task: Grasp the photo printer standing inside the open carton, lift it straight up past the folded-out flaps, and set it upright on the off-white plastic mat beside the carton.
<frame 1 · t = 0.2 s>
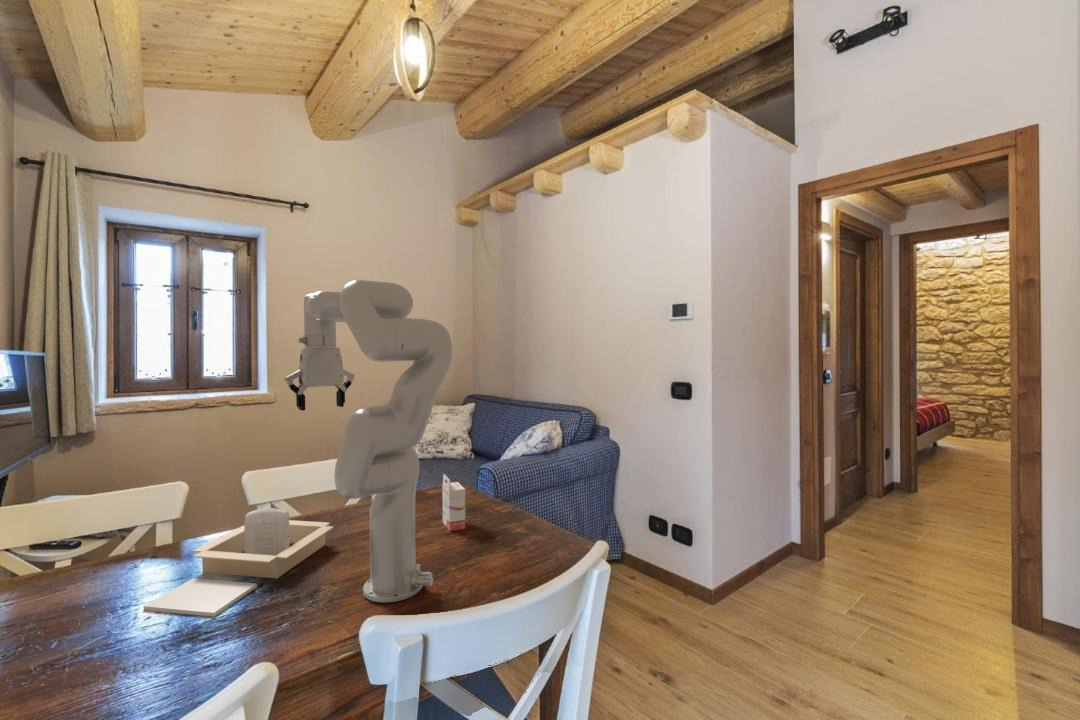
hand: (321, 408, 132), 37 cm above the table, tool pointing down, fingers open, 9 cm apart
ink cartridge box: (454, 526, 148), on the table
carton: (267, 557, 127), on the table
photo printer: (267, 558, 127), resting in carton
mat: (202, 598, 107), on the table
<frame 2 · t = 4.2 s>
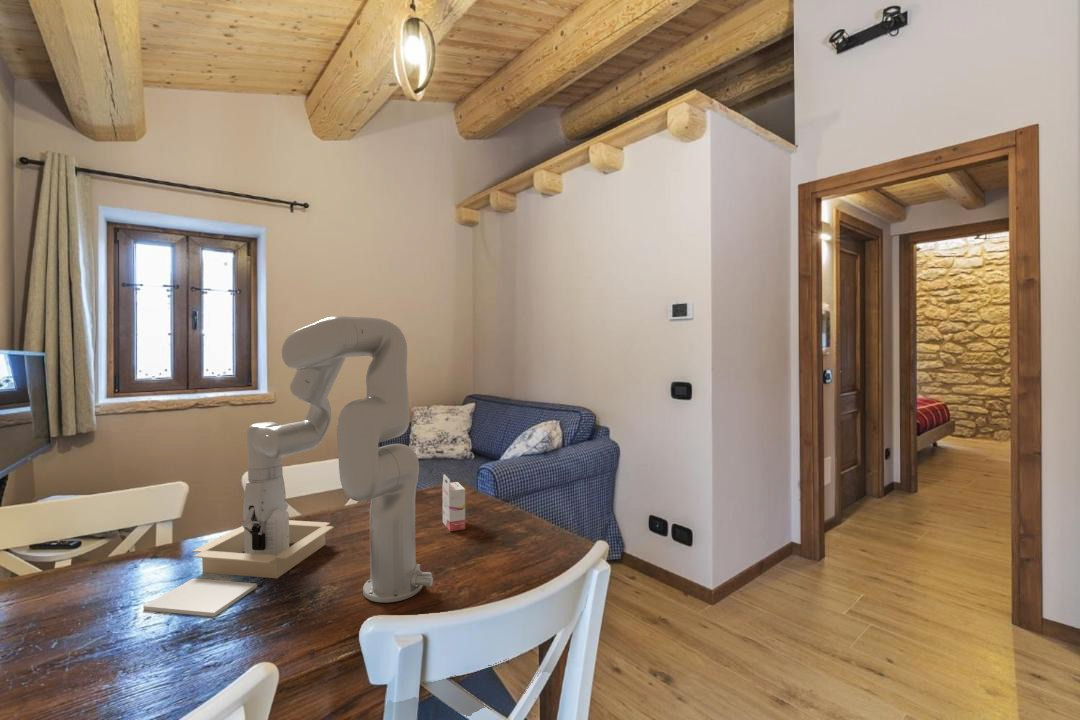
hand: (267, 543, 127), 3 cm above the table, tool pointing down, fingers closed on photo printer, 5 cm apart
photo printer: (267, 558, 127), resting in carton, touching gripper
everything else where it was.
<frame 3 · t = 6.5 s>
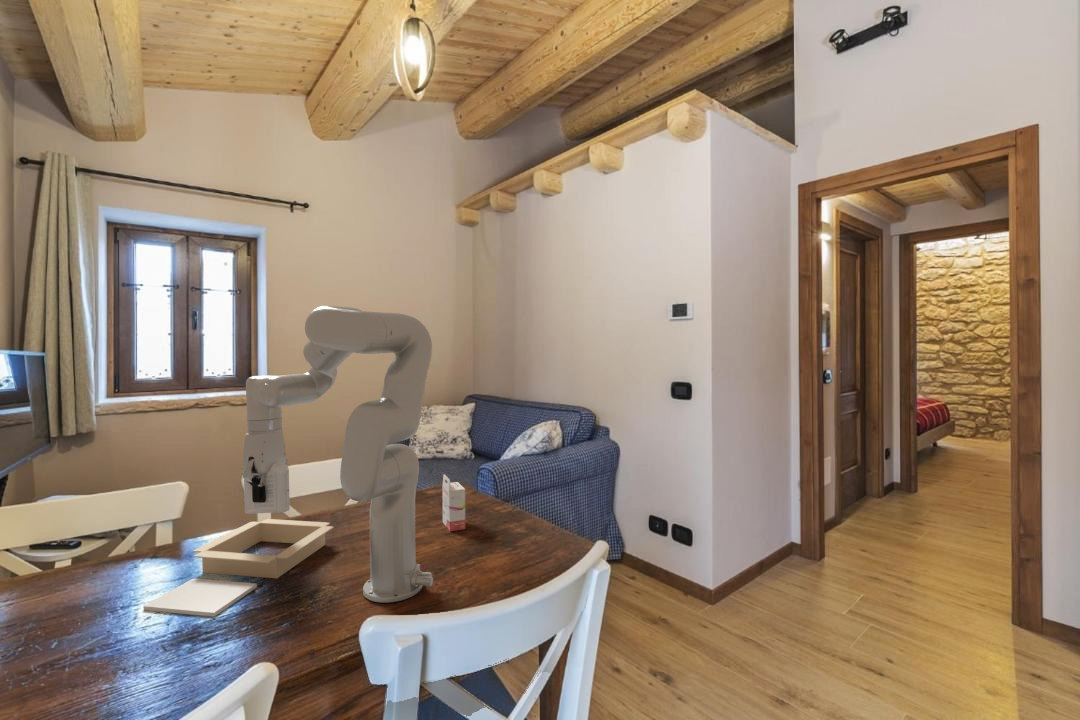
hand: (267, 497, 126), 15 cm above the table, tool pointing down, fingers closed on photo printer, 5 cm apart
photo printer: (268, 512, 126), point 12 cm above the table, touching gripper
everything else where it was.
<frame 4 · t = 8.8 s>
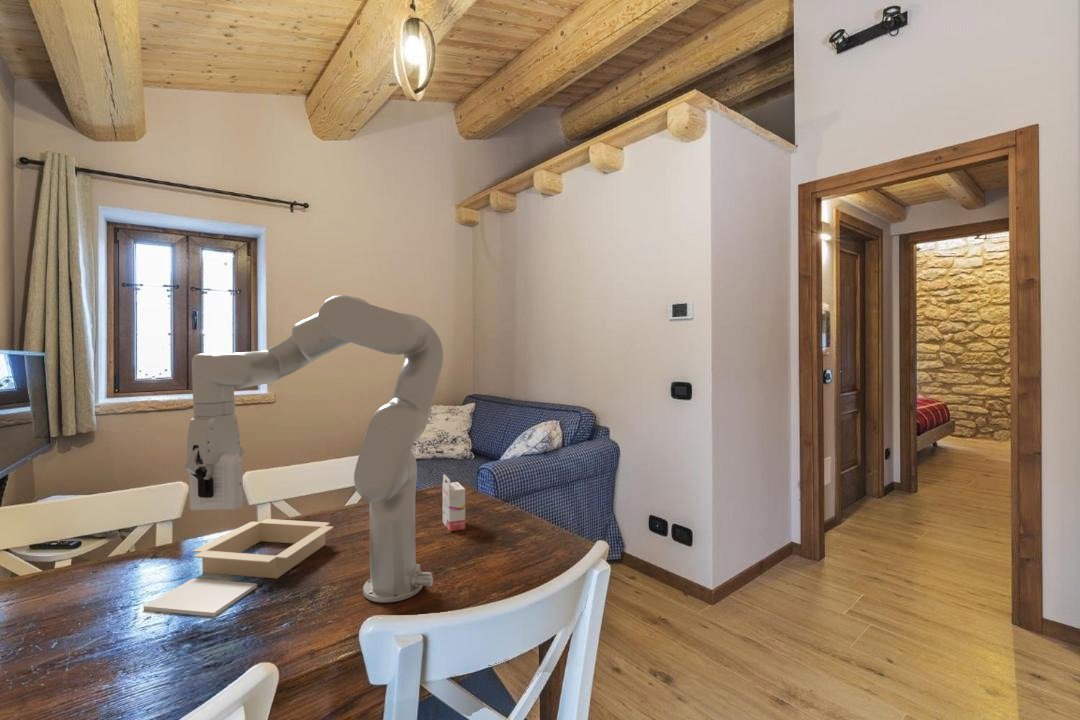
hand: (217, 492, 111), 21 cm above the table, tool pointing down, fingers closed on photo printer, 5 cm apart
photo printer: (217, 508, 111), point 18 cm above the table, touching gripper
everything else where it was.
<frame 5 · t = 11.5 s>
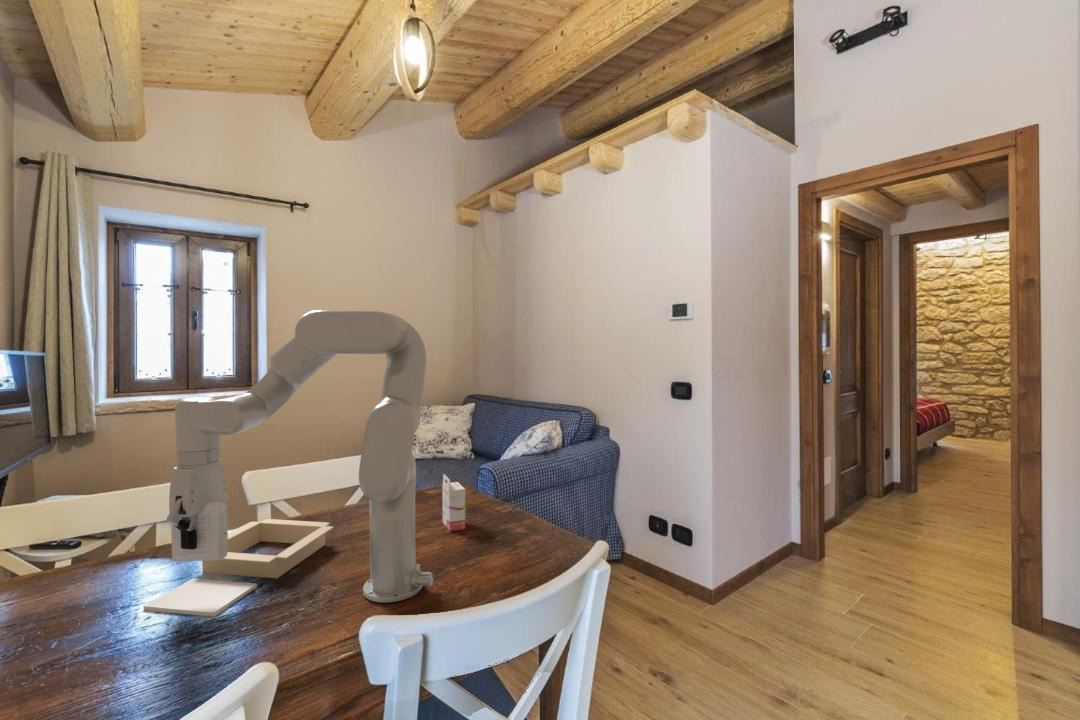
hand: (200, 541, 106), 12 cm above the table, tool pointing down, fingers closed on photo printer, 5 cm apart
photo printer: (200, 559, 107), point 8 cm above the table, touching gripper
everything else where it was.
when the fingers open (6 cm above the table, at t = 13.8 s): photo printer drops 1 cm, resting on mat.
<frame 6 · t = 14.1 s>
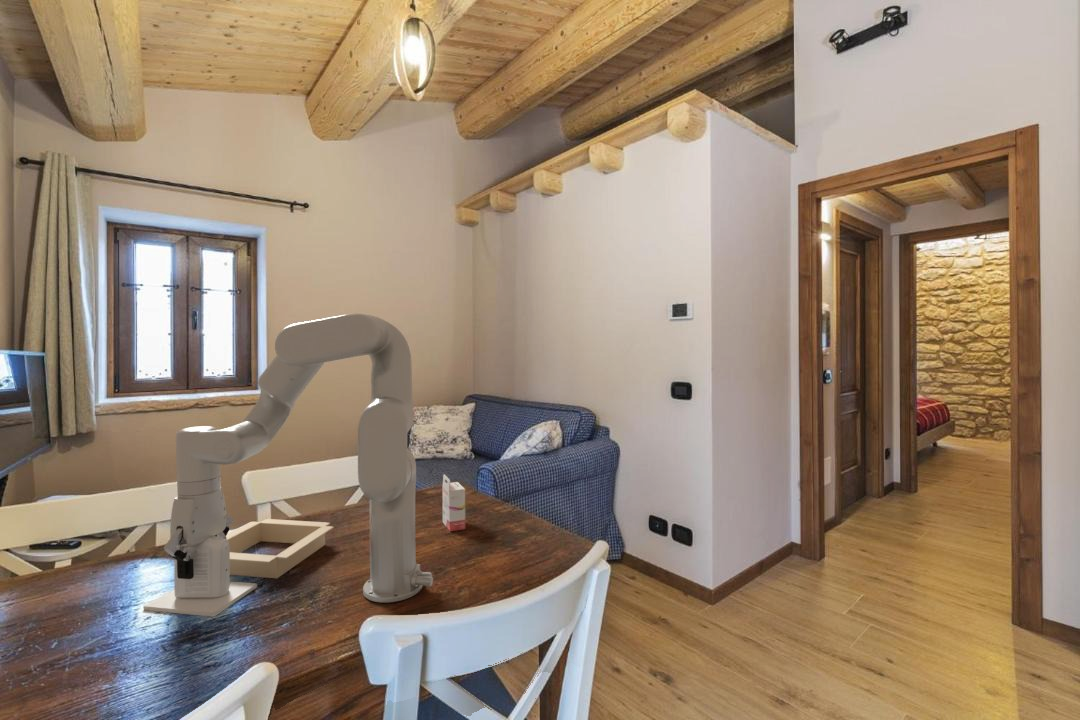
hand: (201, 568, 107), 6 cm above the table, tool pointing down, fingers open, 7 cm apart
photo printer: (202, 595, 107), point 1 cm above the table, touching mat
everything else where it was.
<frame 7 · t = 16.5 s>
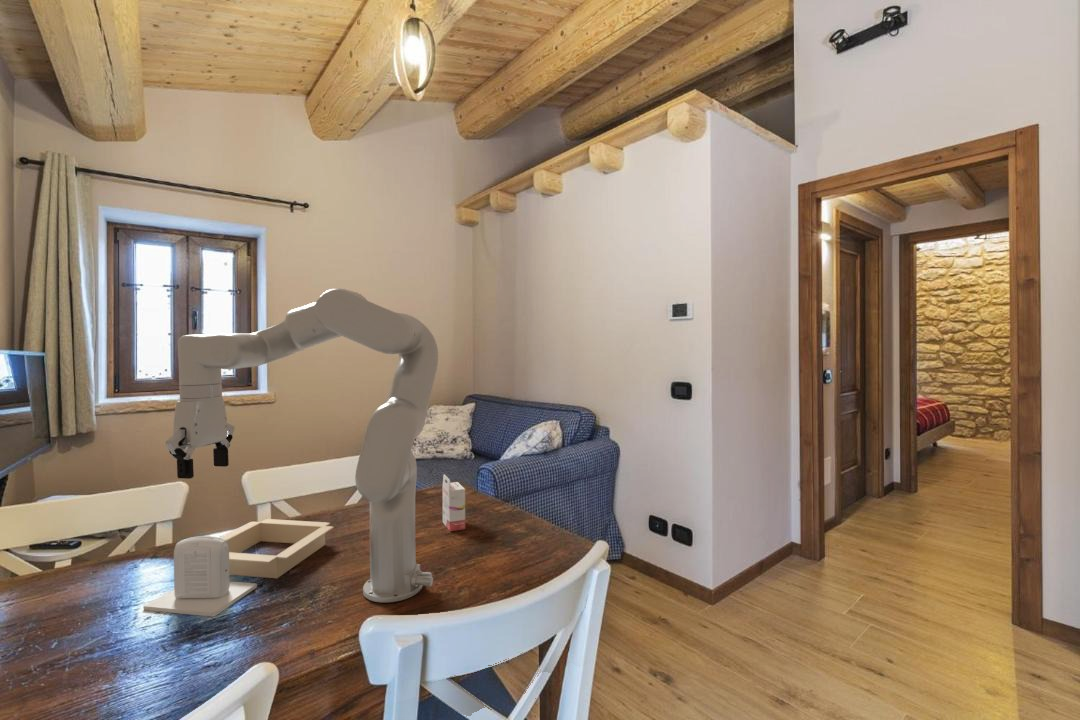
hand: (204, 471, 109), 26 cm above the table, tool pointing down, fingers open, 9 cm apart
nothing on the table moved.
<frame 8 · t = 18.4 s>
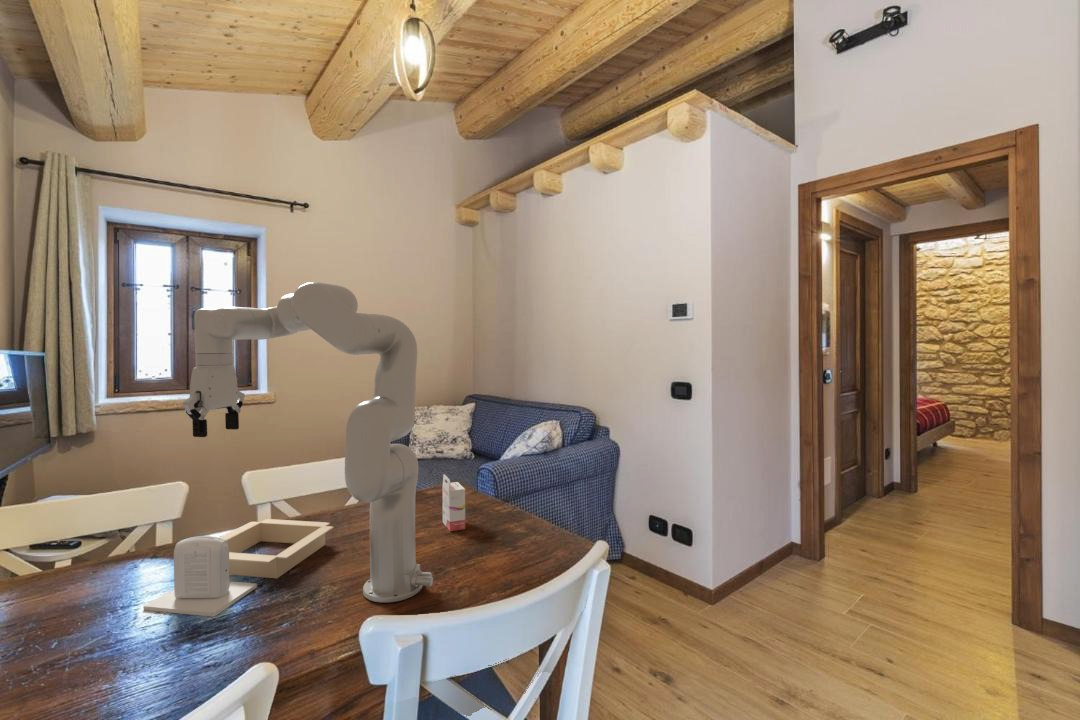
hand: (216, 432, 121), 32 cm above the table, tool pointing down, fingers open, 9 cm apart
nothing on the table moved.
at the end: photo printer inside the target area on the mat (0.2 cm from its centre), point 0.6 cm above the mat's base; photo printer tilted 0°; the gripper is holding nothing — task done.
